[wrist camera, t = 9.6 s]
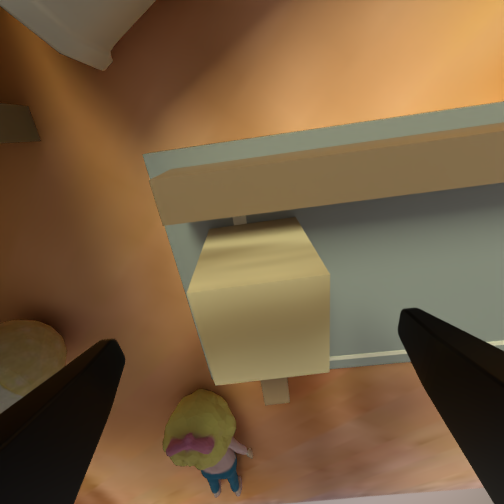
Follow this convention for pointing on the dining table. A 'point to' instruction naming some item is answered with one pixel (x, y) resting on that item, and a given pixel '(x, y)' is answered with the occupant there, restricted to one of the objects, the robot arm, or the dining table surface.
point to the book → (17, 124)
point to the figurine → (205, 439)
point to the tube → (79, 25)
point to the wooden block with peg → (262, 305)
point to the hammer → (27, 358)
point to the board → (362, 217)
